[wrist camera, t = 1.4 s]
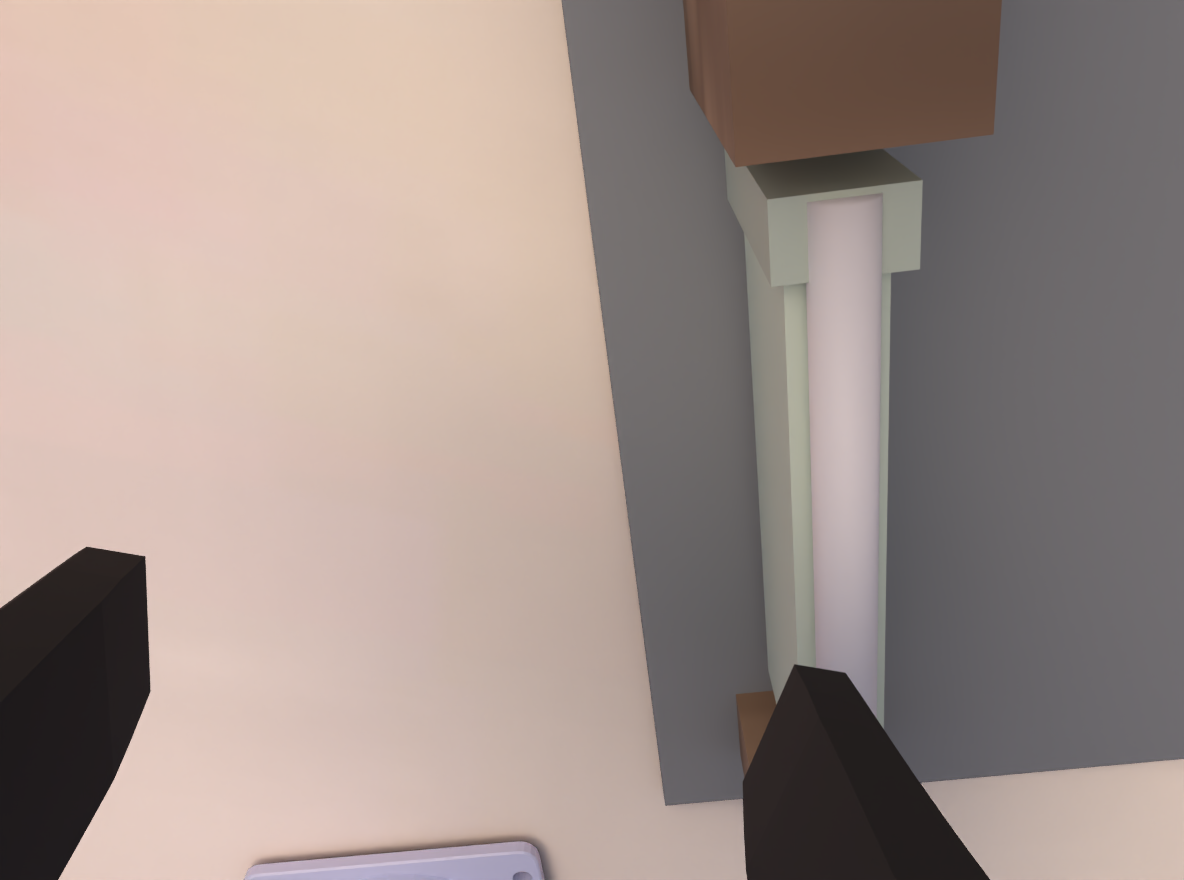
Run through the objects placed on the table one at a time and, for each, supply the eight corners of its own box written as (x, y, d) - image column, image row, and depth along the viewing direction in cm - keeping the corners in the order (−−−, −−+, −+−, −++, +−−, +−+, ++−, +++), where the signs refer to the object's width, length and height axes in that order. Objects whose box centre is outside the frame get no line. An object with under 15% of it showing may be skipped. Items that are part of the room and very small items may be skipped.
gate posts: (859, 732, 25) (940, 980, 19) (738, 743, 25) (782, 993, 19) (859, -65, 16) (1006, -57, 11) (678, -40, 16) (725, -19, 11)
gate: (843, 659, 23) (909, 849, 18) (756, 668, 23) (799, 858, 18) (838, 115, 17) (932, 186, 12) (723, 129, 17) (772, 207, 12)
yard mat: (1427, 723, 24) (1439, 735, 24) (664, 793, 25) (665, 805, 25) (1835, -410, 14) (1866, -418, 14) (535, -213, 15) (533, -216, 15)
